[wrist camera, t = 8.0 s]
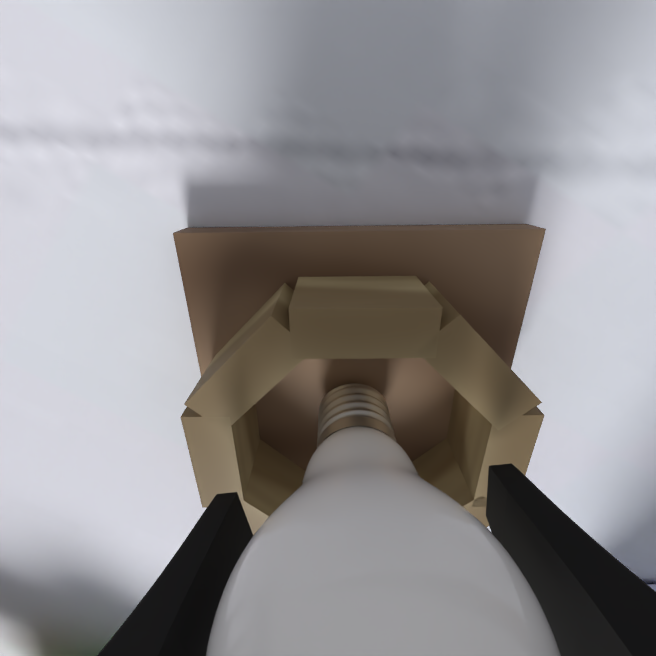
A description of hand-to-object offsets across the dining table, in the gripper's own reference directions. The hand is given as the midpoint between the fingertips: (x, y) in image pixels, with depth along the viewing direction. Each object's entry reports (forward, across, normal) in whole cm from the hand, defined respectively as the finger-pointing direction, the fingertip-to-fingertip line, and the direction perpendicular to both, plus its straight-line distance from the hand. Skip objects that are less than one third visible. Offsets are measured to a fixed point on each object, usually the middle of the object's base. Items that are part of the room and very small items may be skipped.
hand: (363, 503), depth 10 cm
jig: (+6, 0, +3) cm, 6 cm away
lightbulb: (+5, 0, 0) cm, 5 cm away
